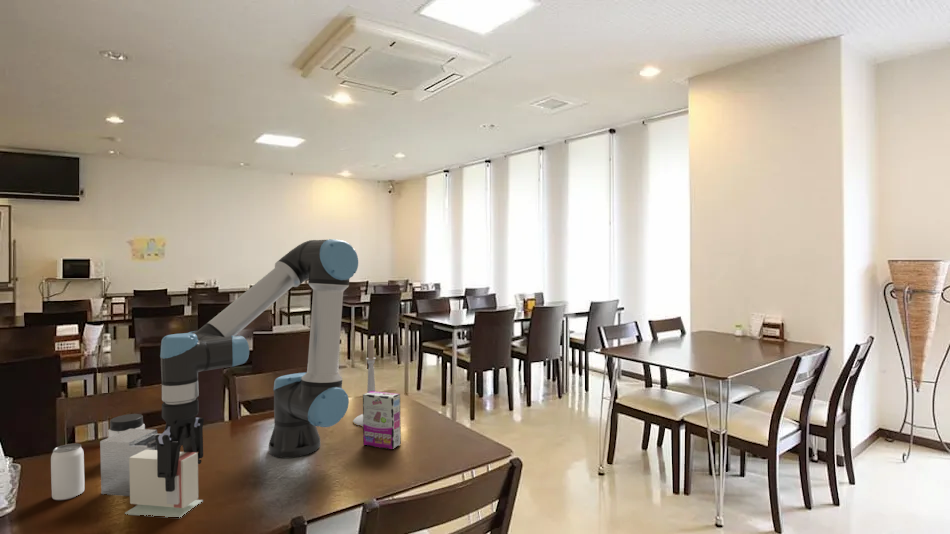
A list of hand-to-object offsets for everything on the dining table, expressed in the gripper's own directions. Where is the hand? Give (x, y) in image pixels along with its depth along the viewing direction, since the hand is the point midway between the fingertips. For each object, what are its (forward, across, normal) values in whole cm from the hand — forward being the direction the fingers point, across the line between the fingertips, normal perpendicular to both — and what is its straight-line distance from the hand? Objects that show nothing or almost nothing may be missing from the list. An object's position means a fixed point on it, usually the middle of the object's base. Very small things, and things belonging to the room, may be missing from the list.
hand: (182, 497), depth 122 cm
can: (+3, -3, -34) cm, 34 cm away
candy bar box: (+3, -45, +34) cm, 57 cm away
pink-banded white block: (+1, 0, -5) cm, 5 cm away
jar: (+3, -26, -38) cm, 46 cm away
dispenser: (+3, -9, -18) cm, 21 cm away
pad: (+3, 0, -4) cm, 5 cm away
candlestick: (+3, -67, +24) cm, 71 cm away
